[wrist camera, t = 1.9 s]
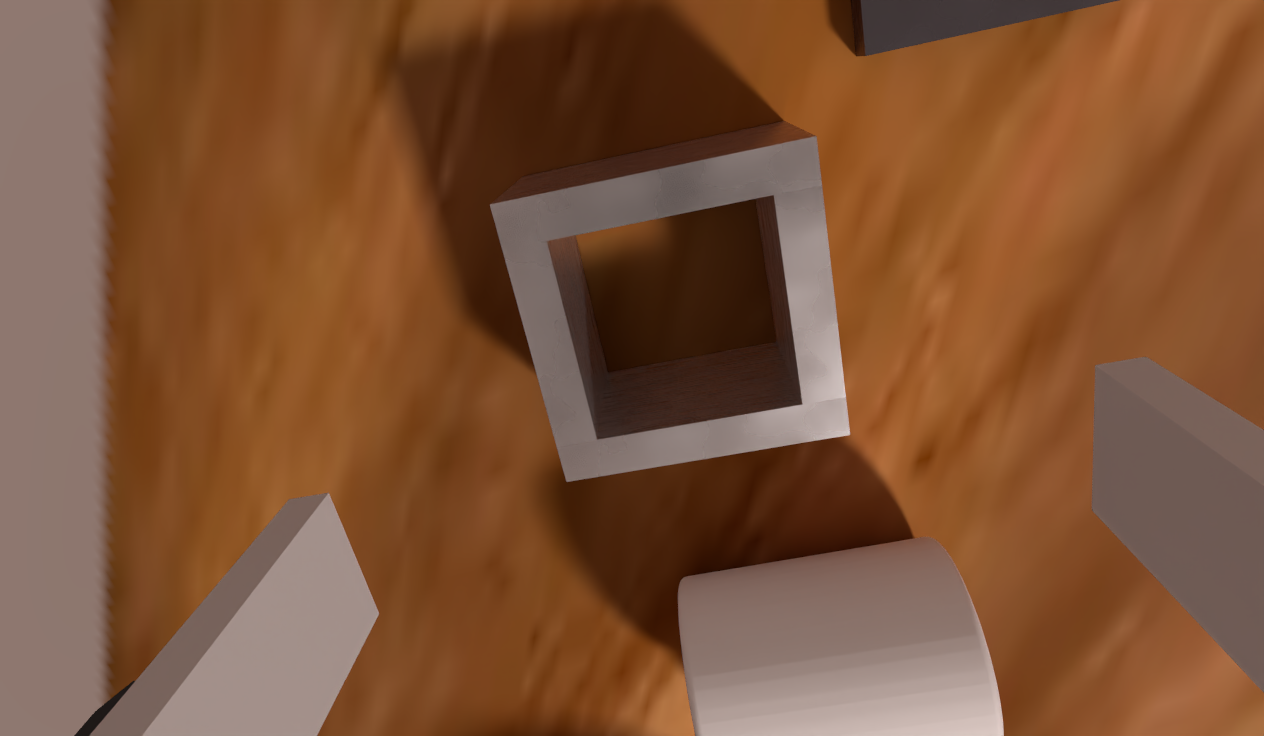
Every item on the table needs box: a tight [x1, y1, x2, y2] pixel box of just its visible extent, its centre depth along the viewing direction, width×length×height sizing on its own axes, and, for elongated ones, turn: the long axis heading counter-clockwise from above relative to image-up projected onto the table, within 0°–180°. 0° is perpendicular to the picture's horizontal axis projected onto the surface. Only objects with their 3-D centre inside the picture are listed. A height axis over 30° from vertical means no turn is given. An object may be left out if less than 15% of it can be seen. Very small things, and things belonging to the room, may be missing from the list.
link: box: [490, 121, 850, 482], centre depth 25 cm, size 9×9×6 cm
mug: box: [678, 537, 1004, 736], centre depth 29 cm, size 12×10×8 cm
